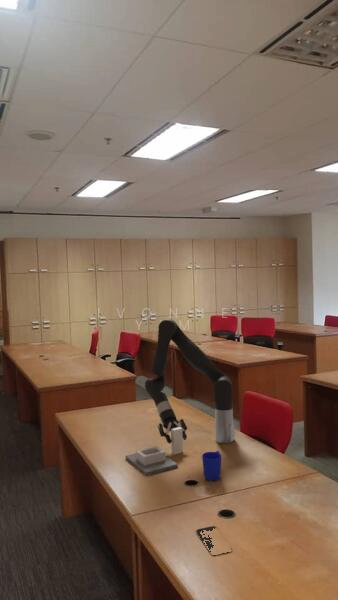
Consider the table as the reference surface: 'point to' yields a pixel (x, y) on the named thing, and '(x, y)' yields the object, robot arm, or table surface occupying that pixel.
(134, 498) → the table surface
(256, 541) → the table surface
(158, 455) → the block insertion holder
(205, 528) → the phone
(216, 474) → the mug
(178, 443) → the rectangular block
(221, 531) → the table surface
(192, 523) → the table surface
